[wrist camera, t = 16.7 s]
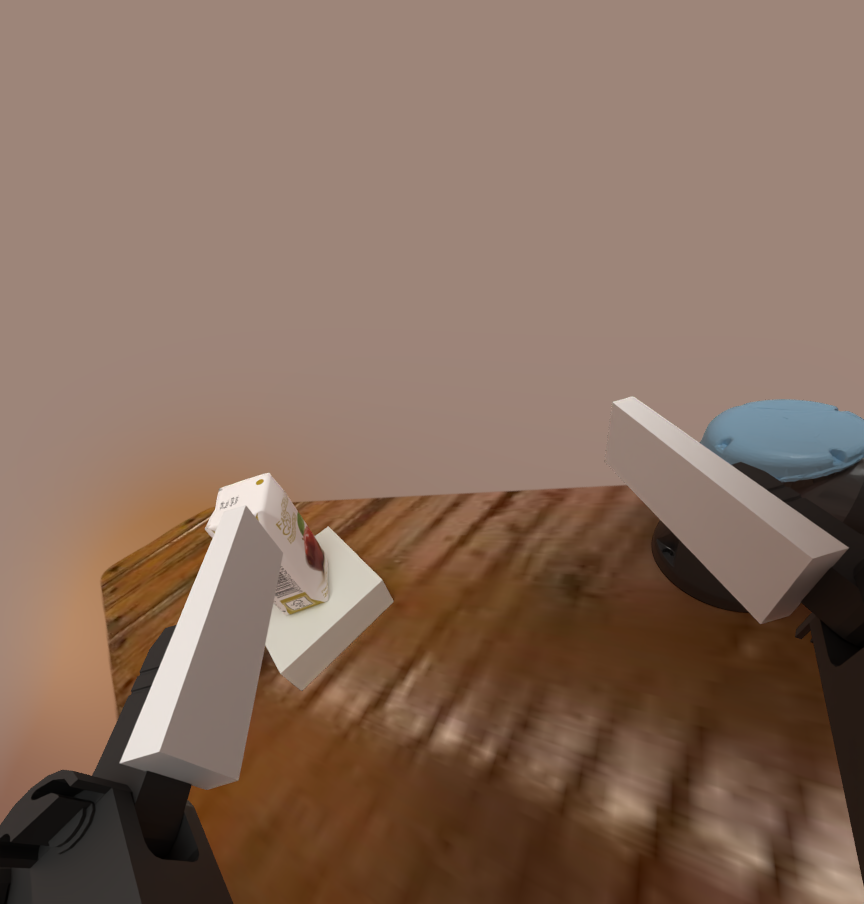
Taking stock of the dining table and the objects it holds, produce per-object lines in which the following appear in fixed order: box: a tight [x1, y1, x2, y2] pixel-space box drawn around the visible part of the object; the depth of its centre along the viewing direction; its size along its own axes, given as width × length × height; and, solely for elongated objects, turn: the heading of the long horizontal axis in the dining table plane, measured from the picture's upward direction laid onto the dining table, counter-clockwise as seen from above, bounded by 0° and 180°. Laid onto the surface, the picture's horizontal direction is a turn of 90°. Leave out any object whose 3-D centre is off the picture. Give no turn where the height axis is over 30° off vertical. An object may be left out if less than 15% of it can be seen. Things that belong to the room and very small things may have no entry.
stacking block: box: [265, 527, 394, 691], centre depth 53 cm, size 16×16×6 cm
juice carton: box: [205, 473, 329, 615], centre depth 45 cm, size 8×9×19 cm
